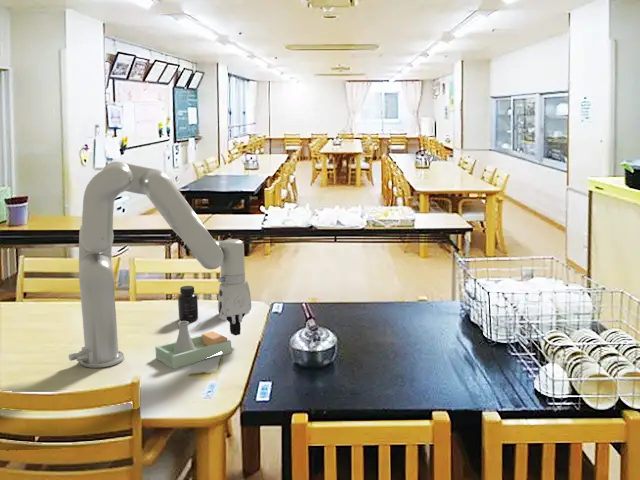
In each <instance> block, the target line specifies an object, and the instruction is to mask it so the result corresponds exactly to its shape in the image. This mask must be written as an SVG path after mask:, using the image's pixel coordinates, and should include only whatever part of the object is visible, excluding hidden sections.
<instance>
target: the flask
mask: <svg viewBox="0 0 640 480" xmlns="http://www.w3.org/2000/svg"><path fill="white" fill-rule="evenodd" d="M189 323H190V322H188V321H180V320H179V321H178V322H177V325H178V326H179V327H178V334H177V339H176V341H177V342H176V341H175V342H176V345H175V348H174V351H173V354H174V355H176V354H180V353H183V352H187V351H191V350H195V347H194V345H193V342H192V340H191V338H192V337H191V335H190V333H189V328H188V327H189Z"/></svg>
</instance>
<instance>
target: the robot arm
mask: <svg viewBox="0 0 640 480" xmlns="http://www.w3.org/2000/svg"><path fill="white" fill-rule="evenodd" d="M171 179H172V178H170V177H169V176H168V175H167V173H165V172H164V171H162V170H160V169H157V168H151V167H145V166H141V165H136V164H133V163H132V164H131V163H127V162H122V161H111V162H108V163H107V164H106V165H105V166H104V167H103V169H102V170H100V171H99V172H97V174H95V175H94V176H93V177H92V178H90V181H89V182H88V183H87V185H86V187H85V190H84V193H83V199H82V201H83V202H82V213H81V216H82V217H81V225H80V229H79V232H78V234H79V235H78V237H79V238H78V278H79V279H78V281H79V292H80V303H81V304H80V305H81V306H80V307H81V314H82V328H83V340H84V346H82V347H81V350H79V351H78V352H75V353H69V354H68V359H69V361H70V362H72V361H75V360H76V362H79V363H80V364H81V365H82V366H83V367H86V368H91V369H92V368H95V369H97V368H101V369H102V368H107V367H111V366H115V365H117V364H120V363H122V362H123V361H124V360H125V354H124V352H122V351H120V350H119V343H118V342H119V341H118V340H119V338H118V324H117V311H116V295H115V292H116V291H115V272H114V269H113V266H112V265H113V264H112V250H113V249H112V245H113V243H114V240H115V239H114V237H115V236H114V226H113V225H114V208H115V207H114V205H115V200H116V199H117V197H118V196H119V195H120V194H122V193H124V192H128V193H131V194H132V193H133V194H139V195H145V196H146V197H147V198H148V199H149V201H150V202H151V203H152V204H153V206H154V207H155V209H156V210H157V211H158V212H159V214H160V215H161V216H162V218H163V219H164V220H165V222H166V223H167V224H168V226H169V227H170V228H171V229H172V231H173V232H174V233H175V234H176V235H177V236H178V237H179V238H180V239H181V240H182V241H183V242H184V244H185V245H186V246H187V247H188V249H189V250H190V252H191V253H192V255H194V258H195V260H196V261H197V262H198V263H199V264H200V265H201V266H202V267H203V268H204V269H207V270H216V269H218V268H219V267H220V276H219V277H217V281H218V283H220V284H219V287H218V293H217V294H218V295H217V309H218V313H219V317H218V318H219V319H220V320H222V321H227V322H229V333H230V334H231V335H234V336H238V335H241V330H242V329H241V327H242V326H241V323H242V321H243V318H244V317H245V316H246V315H248V314H249V313H250V311H251V310H252V298H251V297H252V296H251V290H250V286H249V283H248V281H247V280H246V270H245V269H246V268H245V267H246V265H245V244H244V241H242V240H240V239H238V238H237V239H236V238H230V239H225V240H215V239H214V238H213V236H212V234H210V232H209V231H208V230H207V228H206V227H205V226H204V224H203V222H202V221H201V220H200V218H199V217H198V215H197V213H196V212H195V210H194V209H193V208H192V206H191V205H190V204H189V202H188V201H187V200H186V198H185V197H184V195H183V194H182V192H181V191H180V190H179V189H178V187H177V186H176V184H174V182H173V180H171Z"/></svg>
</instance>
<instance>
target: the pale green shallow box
mask: <svg viewBox="0 0 640 480" xmlns="http://www.w3.org/2000/svg"><path fill="white" fill-rule="evenodd" d="M191 340H192V342H193V345H194V347H195V350H191V351H187V352H183V353H180V354H176V355H174V354H173V351H174V348H175V345H176V342H177V340H175V341H173V342H169V343H165V344H161V345H157V346H155V359H156V360H159V361H160V362H161V363H164V365H167V366H169V367H170V368H173V369H177V368H181V367H184V366H188V365H192V364H194V363H195V362H196V363H199V362H202V361H201V360H203V359H206V358H207V357H210V356H212V355H214V354H216V353H218V352H220V351H222V352H223V355H227V354H230V353H232V341H231V340H228V339H227V341H225V342H221V343H217V344H213V345H210V346H207V345H205V344H203V343H202V334H201V335H196V336H193V337H191ZM223 355H222V356H223ZM206 360H207V359H206ZM198 361H199V362H198ZM203 361H204V360H203ZM191 363H192V364H191Z"/></svg>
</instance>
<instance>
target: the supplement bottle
mask: <svg viewBox="0 0 640 480" xmlns="http://www.w3.org/2000/svg"><path fill="white" fill-rule="evenodd" d="M179 290H180V294H179V295H178V296H177V305H178V306H177V307H178V320H179V322H180V321H188V323H191V322H195V321H197V320H199V308H198V306H199V305H198V296H197V294H196V293H195V286H193V285H184V286H181V287H180V288H179Z"/></svg>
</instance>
